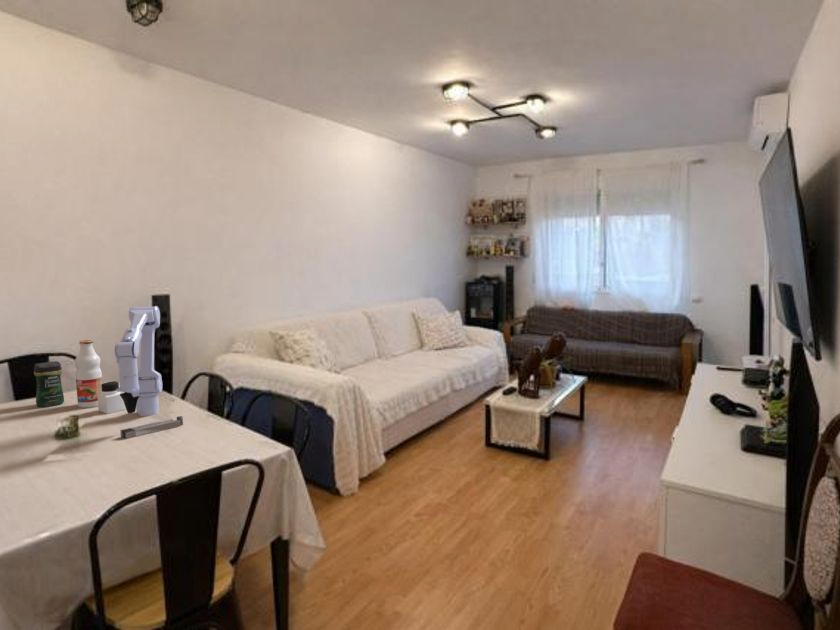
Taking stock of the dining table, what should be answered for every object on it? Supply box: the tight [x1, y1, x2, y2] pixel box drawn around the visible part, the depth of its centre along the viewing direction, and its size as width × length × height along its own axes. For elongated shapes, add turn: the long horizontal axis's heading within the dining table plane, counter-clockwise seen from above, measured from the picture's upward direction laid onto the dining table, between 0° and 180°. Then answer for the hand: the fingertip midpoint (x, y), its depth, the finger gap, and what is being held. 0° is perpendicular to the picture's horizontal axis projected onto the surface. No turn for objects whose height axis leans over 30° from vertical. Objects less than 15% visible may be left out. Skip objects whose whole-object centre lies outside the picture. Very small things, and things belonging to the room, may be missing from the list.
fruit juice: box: [74, 339, 104, 409], centre depth 212 cm, size 9×9×28 cm
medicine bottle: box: [97, 380, 126, 415], centre depth 206 cm, size 7×7×12 cm
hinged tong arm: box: [119, 418, 174, 439], centre depth 178 cm, size 17×2×2 cm, turn 136°
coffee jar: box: [33, 360, 65, 408], centre depth 213 cm, size 10×8×19 cm
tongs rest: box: [123, 415, 184, 440], centre depth 180 cm, size 18×22×4 cm
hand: (131, 412), depth 178 cm, fingers closed
